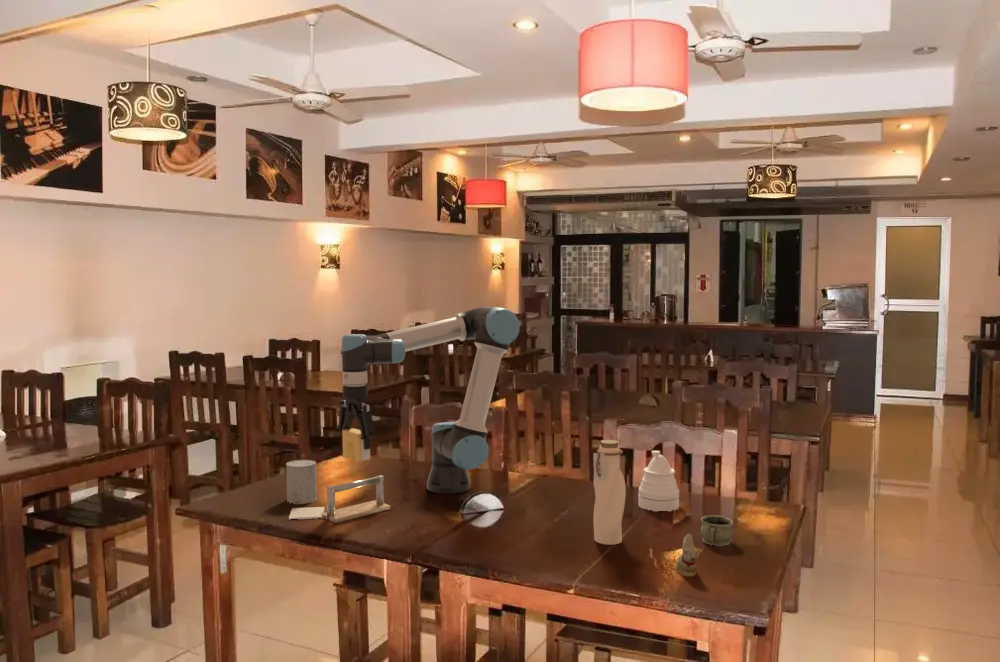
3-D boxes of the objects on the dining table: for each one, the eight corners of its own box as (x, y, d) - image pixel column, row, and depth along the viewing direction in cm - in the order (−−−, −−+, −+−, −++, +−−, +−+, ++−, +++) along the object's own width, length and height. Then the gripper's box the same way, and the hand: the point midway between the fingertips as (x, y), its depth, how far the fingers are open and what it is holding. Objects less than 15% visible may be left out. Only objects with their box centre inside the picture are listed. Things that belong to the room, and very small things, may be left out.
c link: (343, 457, 246) (342, 430, 245) (353, 454, 249) (353, 428, 248) (359, 462, 240) (358, 434, 239) (370, 459, 242) (369, 432, 242)
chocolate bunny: (672, 576, 196) (673, 536, 195) (677, 565, 203) (678, 527, 202) (695, 579, 194) (696, 539, 193) (699, 568, 201) (700, 529, 200)
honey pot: (662, 514, 245) (663, 457, 244) (630, 505, 255) (630, 450, 254) (687, 506, 254) (688, 451, 253) (654, 497, 264) (655, 444, 262)
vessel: (705, 533, 228) (706, 511, 228) (737, 538, 224) (737, 516, 223) (695, 545, 217) (695, 523, 217) (727, 551, 213) (728, 528, 213)
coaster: (324, 508, 250) (324, 506, 250) (322, 518, 240) (322, 516, 240) (292, 510, 248) (292, 508, 248) (288, 519, 238) (288, 517, 238)
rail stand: (376, 503, 255) (375, 473, 255) (390, 509, 250) (390, 477, 249) (320, 517, 241) (320, 484, 241) (334, 523, 236) (334, 490, 235)
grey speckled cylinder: (299, 505, 253) (298, 468, 252) (280, 500, 259) (280, 463, 258) (322, 499, 260) (322, 462, 259) (304, 494, 266) (303, 458, 265)
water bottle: (614, 549, 214) (616, 447, 212) (584, 543, 219) (586, 443, 217) (629, 538, 223) (631, 440, 221) (600, 532, 228) (601, 437, 226)
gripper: (325, 382, 248) (327, 453, 249) (365, 389, 232) (366, 465, 234) (345, 379, 253) (347, 449, 255) (385, 386, 237) (387, 460, 239)
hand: (356, 456), depth 244 cm, fingers closed on c link, 9 cm apart
